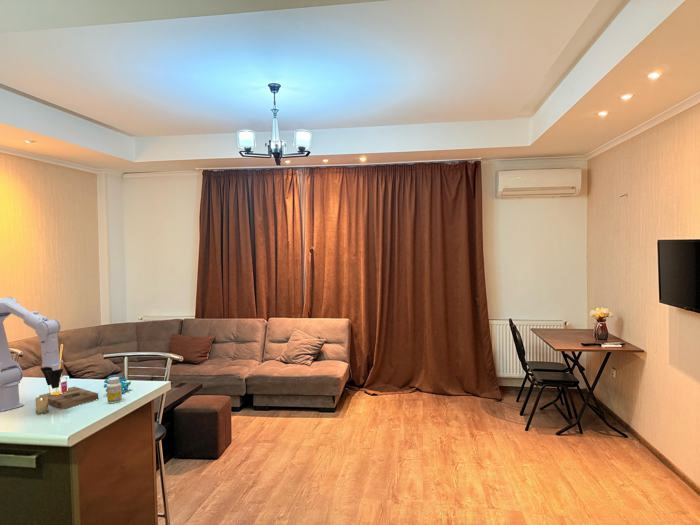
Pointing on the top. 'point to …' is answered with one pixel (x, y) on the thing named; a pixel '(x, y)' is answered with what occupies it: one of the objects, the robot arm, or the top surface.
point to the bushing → (41, 405)
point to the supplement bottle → (114, 390)
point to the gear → (123, 384)
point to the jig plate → (71, 398)
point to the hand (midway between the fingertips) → (53, 386)
